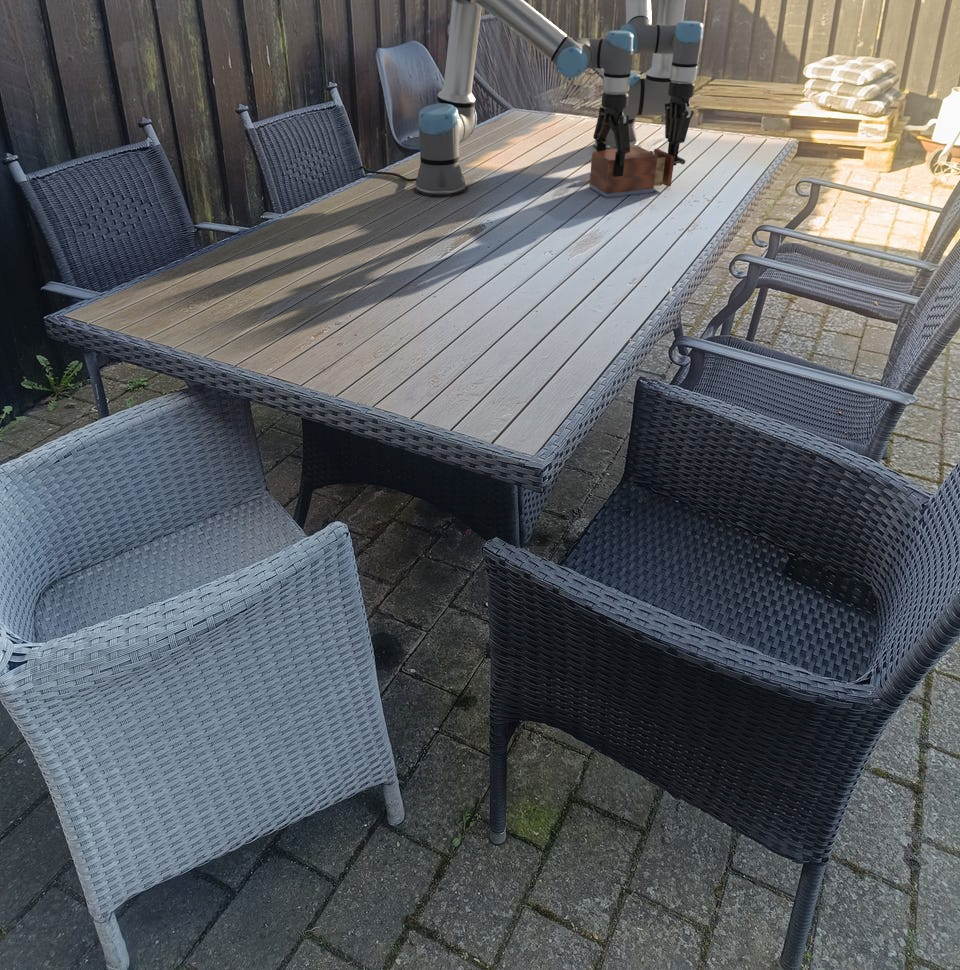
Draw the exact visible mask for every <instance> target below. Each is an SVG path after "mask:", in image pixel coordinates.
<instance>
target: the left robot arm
mask: <svg viewBox="0 0 960 970" xmlns="http://www.w3.org/2000/svg"><path fill="white" fill-rule="evenodd" d="M482 9H484V10H485V11H487V12H488V13H489V14H490V15H492V16H493V17H494V18H496V19H497V20H498V21H500V22H501V23H502V24H503V25H504V26H506V27H507V28H508V29H509V30H511V31H512V32H514V34H515V35H517V36H519V37H520V38H521V39H522V40H524V41H525V42H526V43H527V44H528V45H530V46H531V47H532V48H534V49H535V50H536V51H537V52H539V53H540V54H541V55H543V56H544V57H545V58H547V60H549V61H550V62H551V63H552V64H554V65H555V66H556V67H557V70H558V72H559V73H560V75H561V76H563V77H565V78H567V79H573V78H576V77H579V76H581V75H582V74H583V73H584V72H585V71H586V70H587V69H600V70H602V69H603V79H602V91H603V92H602V94H601V106H600V107H599V109H598V116H597V121H596V124H595V128H594V133H593V139H594V140H595V139H596V143H597V147H596V151H599V150H606V143H603V142H607V140H606V137H607V135H608V133H609V131H610V129H612V131H613V132H614V136H615V142H616V147H617V152H616V153H615V154H616V155H615V167H614V177H617V176H623V170H624V161H625V154H626V153H628V152H630V142H629V128H628V122H629V116H624V115H623V109H624V108H626V107H627V106H628V96H629V94H628V93H627V92H628V91H629V83H630V74H631V73H632V65H633V64H632V63H633V55H634V54H633V34H632V33H631V32H629V31H621V29H619V30H610V31H607V33H606V36H605V38H593V37H592V38H591V37H590V38H589V37H587V38H586V37H580V36H575V37H570V36H568V34H567V33H565V32H564V31H563V30H561V29H560V27H558V26H556V25H555V24H554V23H553V22H552V21H550V20H549V19H548V18H547V17H546V16H544V15H543V14H542V13H541V12H539V11H538V10H536V8H534V7H533V6H532V5H530V4H529V3H528V2H526V0H452V1H451V12H450V21H449V30H448V31H449V32H448V40H447V49H446V60H445V70H444V77H443V87H442V89H441V90H439V92H437V98H436V103H432V104H428V105H425V106H424V107H422V108H421V109H420V111H419V113H418V122H417V124H418V136H419V138H418V139H419V157H420V158H419V159H420V161H419V162H420V164H419V168H418V172H417V176H416V177H415V178H409V177H408V178H407V177H406V176H403V175H402V174H400V173H399V174H398V173H396V172H389V171H377V170H370V169H368V168H366V167H365V166H364V165H360V166H359V167H358V168H357V170H358V171H360V170H362V169H363V170H364V171H365V172H367V173H369V174H374V173H376V175H389V176H395V177H398V178H400V179H401V180H404V181H407V182H415V185H414V186H415V192H417V193H418V194H420V195H424V196H430V197H450V196H455V195H459V194H461V193H463V192H464V191H466V180H465V177H464V175H463V172H462V169H461V165H460V144H461V143H462V142H464V141H466V140H467V139H469V138H470V137H471V135H472V134H473V132H474V130H475V129H476V126H477V122H478V116H477V115H478V114H477V111H476V109H475V107H476V98H475V96H474V94H473V92H472V91H473V83H474V74H475V66H476V58H477V51H478V43H479V34H480V28H481V17H482ZM597 134H598V135H597Z"/></svg>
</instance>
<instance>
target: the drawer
mask: <svg viewBox="0 0 960 970" xmlns="http://www.w3.org/2000/svg"><path fill="white" fill-rule="evenodd" d="M648 151H649V152H651V153H653V154H655V155H657V156H658V157H657V165H656V173H655V182H654V187H657V186H663V185H664V186H666V187H671V186H672V179H673V172H674V166H675V165H674V164H676V163H677V164H681V165H682V166H683V165H685V164H686V159H685V158H682V157H680V156H678V157H677V161H674V158H675V157H674V156H672V155H670V154H668V152H666V151H664V150H662V149H660V148H654V150H648ZM677 164H676V165H677ZM673 165H674V166H673Z"/></svg>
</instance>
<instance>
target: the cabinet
mask: <svg viewBox="0 0 960 970" xmlns="http://www.w3.org/2000/svg"><path fill="white" fill-rule="evenodd" d="M649 151H650V150H647V149H645V148H643V147H641V146H638V147H630V152H628V153H626V154H625V161H624V170H623V176H617V177H614V167H615V155H616V154H615V153H616V152H617V149H609V150H599V151H597V150H592V151H591V160H590V161H591V162H590V163H591V165H590V175H589V176H590V177H589V186H588V187H589V188H590V189H592V190H593V191H595V192H597V193H598V194H599V195H601V196H603V197H605V198H614V197H615V198H616V197H623V196H630V195H640V194H648V193H649V194H650V193H654V190H655V186H654V182H655V173H656V165H657V157H658V156H657V155H655V154H654V152H653V153H651V152H649Z"/></svg>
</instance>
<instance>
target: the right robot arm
mask: <svg viewBox="0 0 960 970" xmlns="http://www.w3.org/2000/svg"><path fill="white" fill-rule="evenodd" d="M686 2H687V0H658V6H657V15H656V23H655V24H653V23H652V20H653V19H652V0H625V24H623V25H621V27H620V30H621V31H629V32H631V33H632V34H633V55H636V54H637V55H638V54H639V55H640V54H642V55H643V54H652V60H651V61H652V62H651V67H650V68H649V69H648V70H647V71H646V72H645V73H646V74H645V77H644V78H641V75H640V73H636V72H631V74H630V83H629V91H628V92H627V93H628V94H629V96H628V106H627V107H626V108H624V109H623V115H624V116H629V122H628V128H629V142H630V147H639V138H638V133H637V127H636V117H637V116H647V117H648V116H653V117H656V116H657V117H665V120H664V121H665V122H664V124H665V125H664V126H665V127H664V131H665V132H664V137H665V139H667V142H668V147H667V153H668V154H670V155H672V156H674V157H675V158H674V161H677V157H679V150H680V144H682V143H685V141H686V137H687V135H688V134H687V133H688V130H689V126H690V123H691V119H692V118H693V116H694V110H691V109H690V105H691V104H690V99H691V98H693V97H694V95H695V90H696V84H695V81H696V80H697V73H698V67H699V59H700V53H701V47H702V41H703V37H704V35H703V31H704V24H703V23H702V22H701V21H696V20H684V18H685V9H686ZM597 135H598V134H597ZM606 140H607V142H603V143H606V150H609V149H617V147H616V142H615V136H614V132H613V131H612V129H610V131H609V133H608V135H607V137H606ZM594 147H595V148H597V143H596V139H594ZM677 164H678V163H676V164H674V165H673V167H674V166H677Z"/></svg>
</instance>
